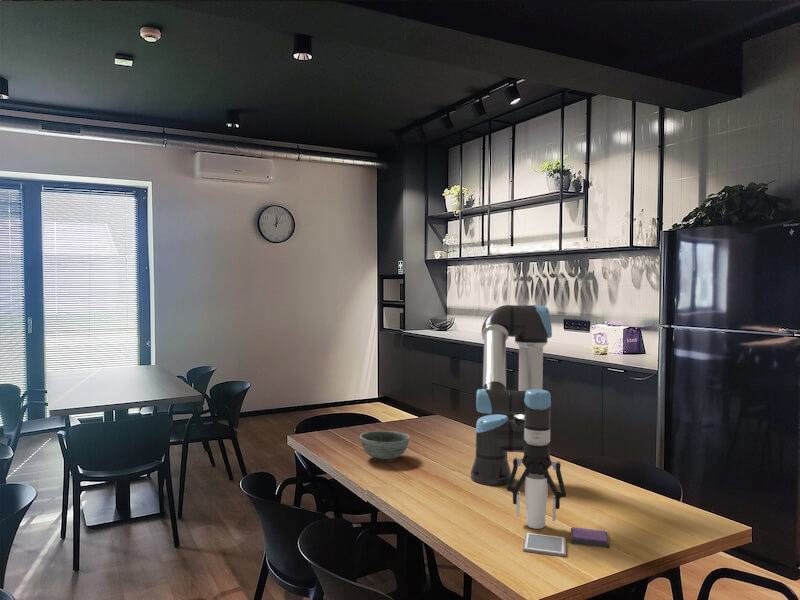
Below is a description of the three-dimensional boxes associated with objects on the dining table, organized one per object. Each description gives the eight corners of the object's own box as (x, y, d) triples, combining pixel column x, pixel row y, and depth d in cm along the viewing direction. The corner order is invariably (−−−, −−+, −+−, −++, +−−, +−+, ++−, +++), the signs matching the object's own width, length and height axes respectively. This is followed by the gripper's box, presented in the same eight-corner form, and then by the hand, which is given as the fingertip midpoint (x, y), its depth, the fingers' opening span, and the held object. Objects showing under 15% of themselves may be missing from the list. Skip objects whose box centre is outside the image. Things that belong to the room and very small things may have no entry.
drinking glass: (521, 521, 173) (522, 472, 173) (543, 521, 174) (543, 472, 174) (528, 531, 167) (528, 479, 166) (550, 530, 167) (551, 479, 167)
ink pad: (571, 543, 159) (571, 537, 159) (570, 531, 166) (570, 526, 166) (609, 548, 156) (609, 542, 156) (607, 536, 164) (607, 530, 164)
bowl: (350, 463, 230) (350, 438, 230) (372, 450, 249) (372, 427, 249) (398, 469, 222) (398, 444, 222) (417, 455, 241) (417, 432, 241)
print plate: (522, 551, 154) (523, 548, 154) (525, 534, 164) (525, 532, 164) (565, 556, 151) (565, 554, 151) (565, 539, 161) (565, 537, 161)
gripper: (497, 442, 169) (496, 517, 170) (576, 449, 163) (575, 526, 163) (500, 436, 176) (499, 508, 177) (576, 442, 170) (574, 516, 171)
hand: (535, 517), depth 170 cm, fingers open, 10 cm apart
